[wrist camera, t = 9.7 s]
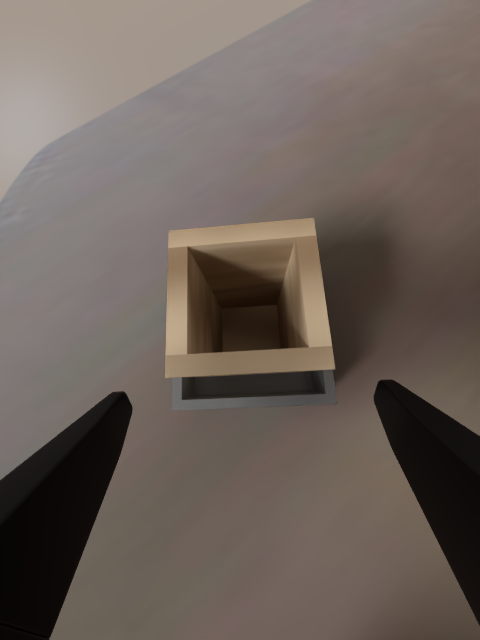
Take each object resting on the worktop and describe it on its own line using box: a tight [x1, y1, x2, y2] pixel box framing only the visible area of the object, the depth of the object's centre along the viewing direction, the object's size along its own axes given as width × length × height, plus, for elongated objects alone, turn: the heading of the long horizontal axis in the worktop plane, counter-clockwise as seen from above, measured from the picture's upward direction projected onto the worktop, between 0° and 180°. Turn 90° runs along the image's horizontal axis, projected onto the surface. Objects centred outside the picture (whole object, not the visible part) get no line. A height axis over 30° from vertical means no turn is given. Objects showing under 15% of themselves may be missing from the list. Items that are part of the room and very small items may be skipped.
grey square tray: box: [172, 369, 337, 411], centre depth 17 cm, size 10×10×4 cm
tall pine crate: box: [165, 218, 335, 378], centre depth 14 cm, size 6×6×10 cm
